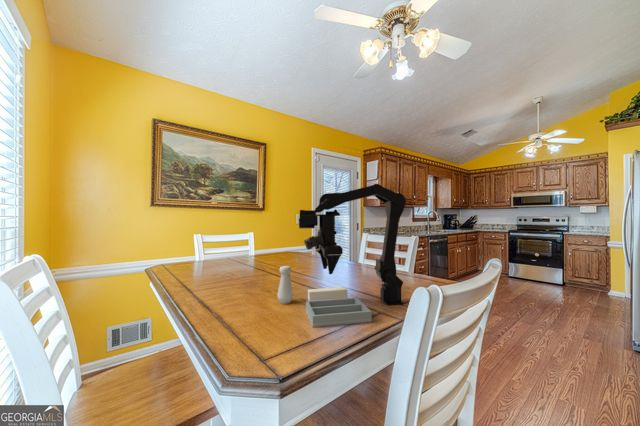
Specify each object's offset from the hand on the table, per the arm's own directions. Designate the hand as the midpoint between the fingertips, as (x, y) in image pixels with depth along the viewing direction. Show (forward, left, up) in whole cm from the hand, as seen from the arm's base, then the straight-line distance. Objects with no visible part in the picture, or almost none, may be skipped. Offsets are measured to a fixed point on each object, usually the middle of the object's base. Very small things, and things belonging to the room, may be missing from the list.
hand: (327, 271), depth 91 cm
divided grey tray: (0, +12, -11) cm, 17 cm away
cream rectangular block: (0, 0, -12) cm, 12 cm away
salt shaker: (+15, -4, -12) cm, 19 cm away
